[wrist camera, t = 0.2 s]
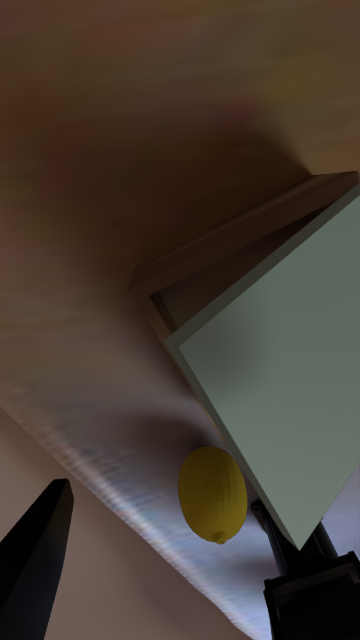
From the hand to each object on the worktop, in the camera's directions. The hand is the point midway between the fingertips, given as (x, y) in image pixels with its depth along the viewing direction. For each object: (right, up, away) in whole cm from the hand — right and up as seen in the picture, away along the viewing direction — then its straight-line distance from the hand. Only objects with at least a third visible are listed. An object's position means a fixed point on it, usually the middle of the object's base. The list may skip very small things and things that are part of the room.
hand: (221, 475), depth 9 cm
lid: (+6, +3, +6) cm, 9 cm away
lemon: (+1, -7, +19) cm, 20 cm away
